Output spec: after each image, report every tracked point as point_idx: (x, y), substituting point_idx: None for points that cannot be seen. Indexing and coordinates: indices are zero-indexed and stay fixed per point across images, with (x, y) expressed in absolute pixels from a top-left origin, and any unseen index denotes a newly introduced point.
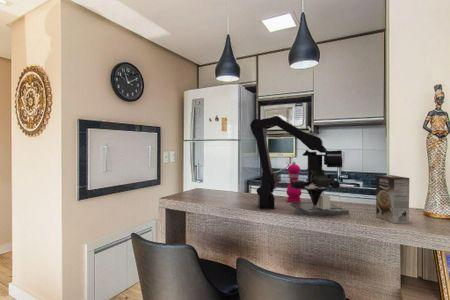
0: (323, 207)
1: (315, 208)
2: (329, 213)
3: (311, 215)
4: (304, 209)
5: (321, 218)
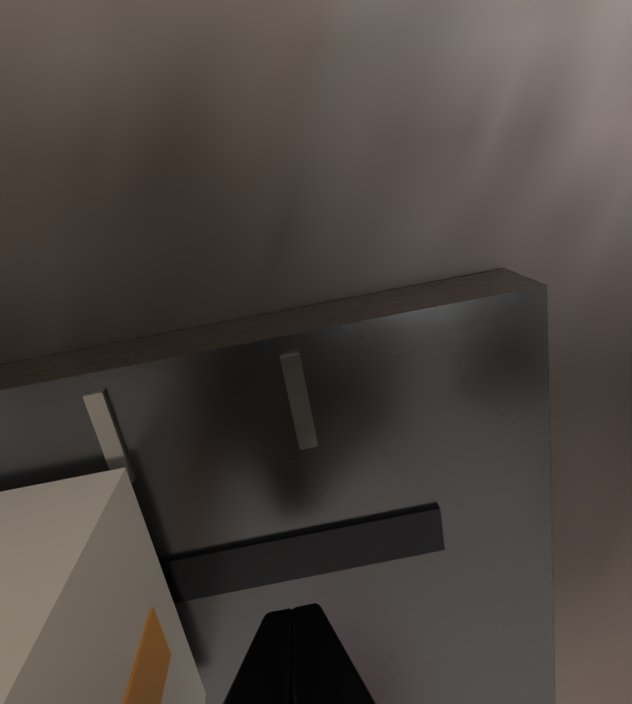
0: (94, 501)
1: (274, 582)
2: (6, 369)
3: (435, 282)
4: (549, 490)
5: (287, 22)
